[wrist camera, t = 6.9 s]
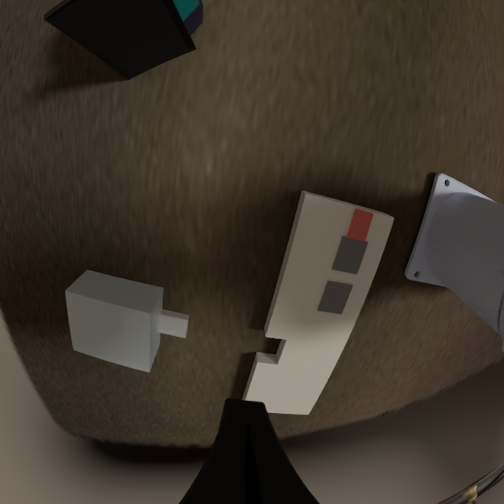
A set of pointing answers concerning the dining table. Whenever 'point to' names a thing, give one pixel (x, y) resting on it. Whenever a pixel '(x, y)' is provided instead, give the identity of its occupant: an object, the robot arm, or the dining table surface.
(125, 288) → the charger
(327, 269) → the power strip
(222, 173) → the dining table surface
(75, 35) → the speaker
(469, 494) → the hand bell
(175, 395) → the dining table surface
